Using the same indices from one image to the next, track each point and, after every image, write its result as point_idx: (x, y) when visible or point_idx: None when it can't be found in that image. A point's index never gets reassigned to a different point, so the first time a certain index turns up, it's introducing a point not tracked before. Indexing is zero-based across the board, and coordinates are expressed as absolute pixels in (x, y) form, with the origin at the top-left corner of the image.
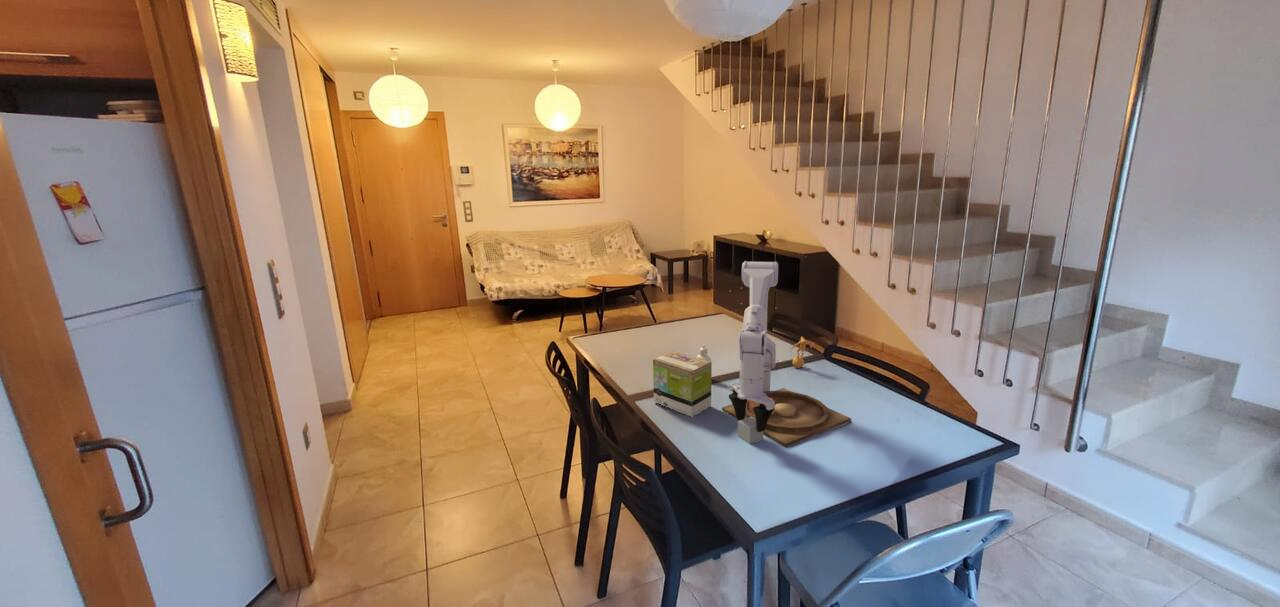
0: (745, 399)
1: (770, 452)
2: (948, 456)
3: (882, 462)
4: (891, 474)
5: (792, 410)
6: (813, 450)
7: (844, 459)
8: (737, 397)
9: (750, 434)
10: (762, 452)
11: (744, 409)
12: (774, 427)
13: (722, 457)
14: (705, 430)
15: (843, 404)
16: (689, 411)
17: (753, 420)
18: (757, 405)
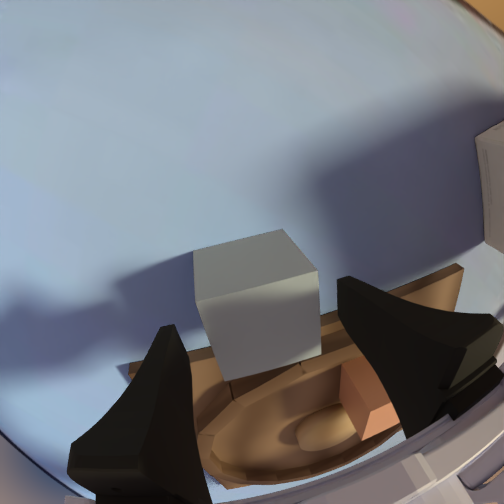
0: (401, 404)
1: (100, 301)
2: (88, 495)
3: (60, 456)
4: (23, 442)
5: (306, 446)
6: (104, 409)
7: (63, 429)
8: (443, 383)
9: (196, 281)
10: (105, 271)
11: (367, 352)
12: (237, 391)
13: (121, 61)
14: (393, 117)
15: (292, 482)
16: (495, 136)
17: (278, 351)
18: (379, 392)
